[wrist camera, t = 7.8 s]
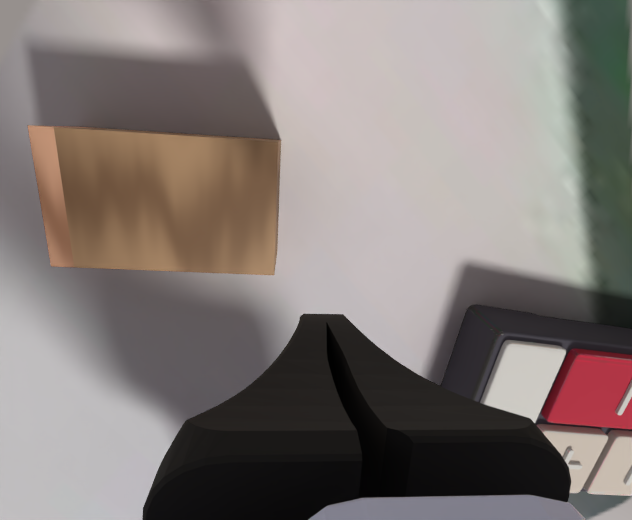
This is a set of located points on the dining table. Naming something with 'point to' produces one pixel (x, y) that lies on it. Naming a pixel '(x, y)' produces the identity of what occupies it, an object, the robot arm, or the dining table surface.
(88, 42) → the dining table surface
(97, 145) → the walnut block
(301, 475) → the robot arm
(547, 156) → the dining table surface
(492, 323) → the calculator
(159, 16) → the dining table surface
